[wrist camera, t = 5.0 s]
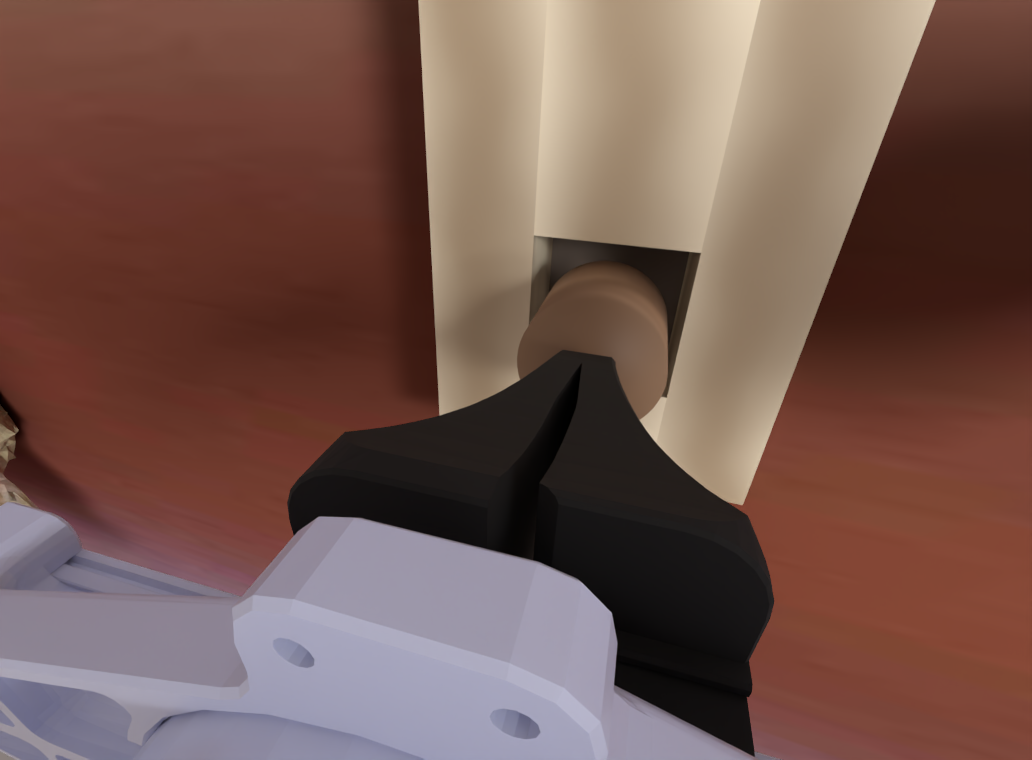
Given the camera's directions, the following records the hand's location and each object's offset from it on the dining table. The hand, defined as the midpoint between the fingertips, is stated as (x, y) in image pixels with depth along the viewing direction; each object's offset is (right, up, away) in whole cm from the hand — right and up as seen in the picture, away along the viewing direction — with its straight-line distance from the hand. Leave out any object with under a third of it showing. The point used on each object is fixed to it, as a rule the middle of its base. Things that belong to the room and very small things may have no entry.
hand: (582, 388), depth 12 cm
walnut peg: (+1, +2, +4) cm, 4 cm away
